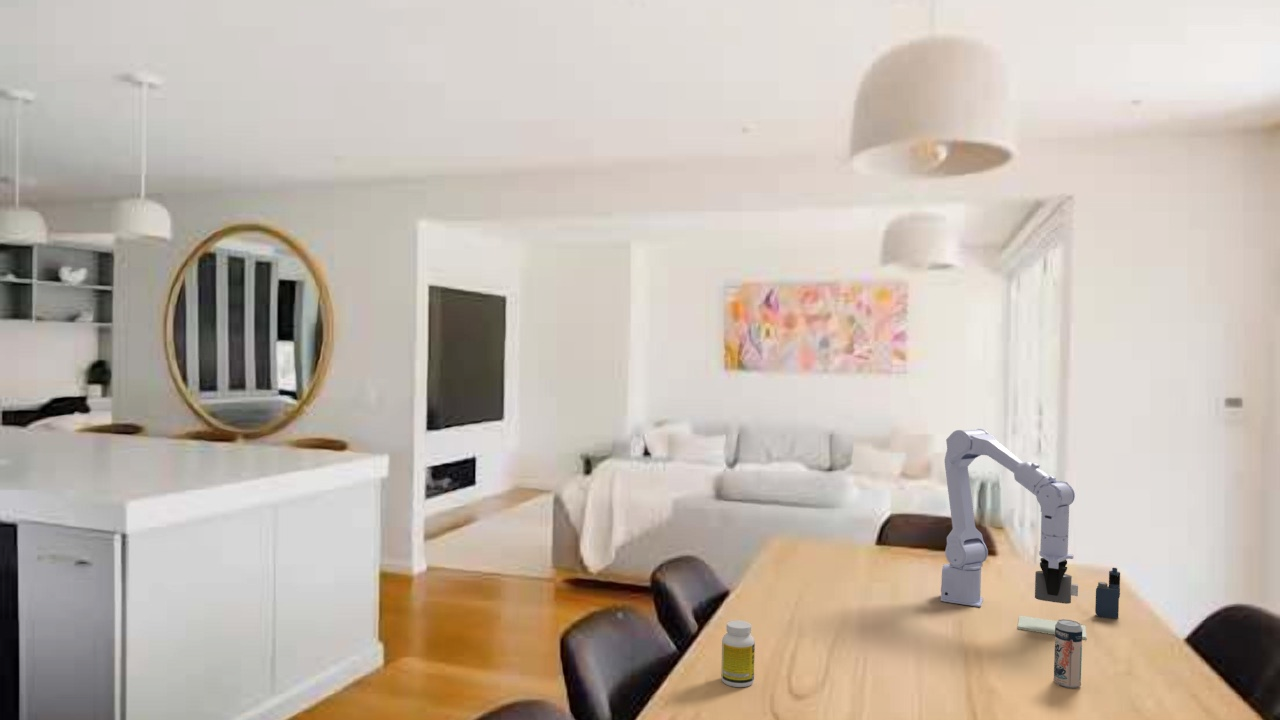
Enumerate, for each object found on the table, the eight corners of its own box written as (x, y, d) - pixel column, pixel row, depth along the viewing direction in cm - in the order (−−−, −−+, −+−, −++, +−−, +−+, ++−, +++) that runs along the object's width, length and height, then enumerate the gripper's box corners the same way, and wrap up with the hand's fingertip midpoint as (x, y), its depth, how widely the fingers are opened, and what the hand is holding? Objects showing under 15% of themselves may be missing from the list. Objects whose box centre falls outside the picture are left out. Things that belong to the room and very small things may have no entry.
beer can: (1048, 679, 162) (1049, 618, 161) (1071, 679, 162) (1073, 618, 162) (1062, 689, 157) (1064, 627, 157) (1086, 689, 157) (1088, 626, 157)
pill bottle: (758, 687, 155) (760, 628, 155) (727, 689, 154) (728, 630, 153) (747, 674, 161) (748, 618, 161) (717, 676, 160) (718, 619, 159)
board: (1017, 628, 191) (1017, 626, 191) (1019, 617, 199) (1019, 615, 199) (1086, 639, 185) (1086, 637, 185) (1085, 628, 193) (1085, 625, 193)
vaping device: (1120, 619, 200) (1122, 569, 200) (1097, 617, 201) (1098, 568, 201) (1117, 615, 202) (1118, 567, 202) (1093, 614, 203) (1095, 565, 203)
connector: (1034, 599, 192) (1035, 573, 192) (1035, 595, 195) (1035, 570, 195) (1077, 605, 188) (1078, 579, 188) (1077, 601, 191) (1078, 575, 191)
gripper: (1074, 542, 183) (1072, 603, 184) (1073, 530, 196) (1071, 587, 196) (1039, 538, 186) (1037, 598, 187) (1040, 526, 199) (1038, 582, 200)
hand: (1052, 592), depth 192 cm, fingers closed on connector, 3 cm apart
